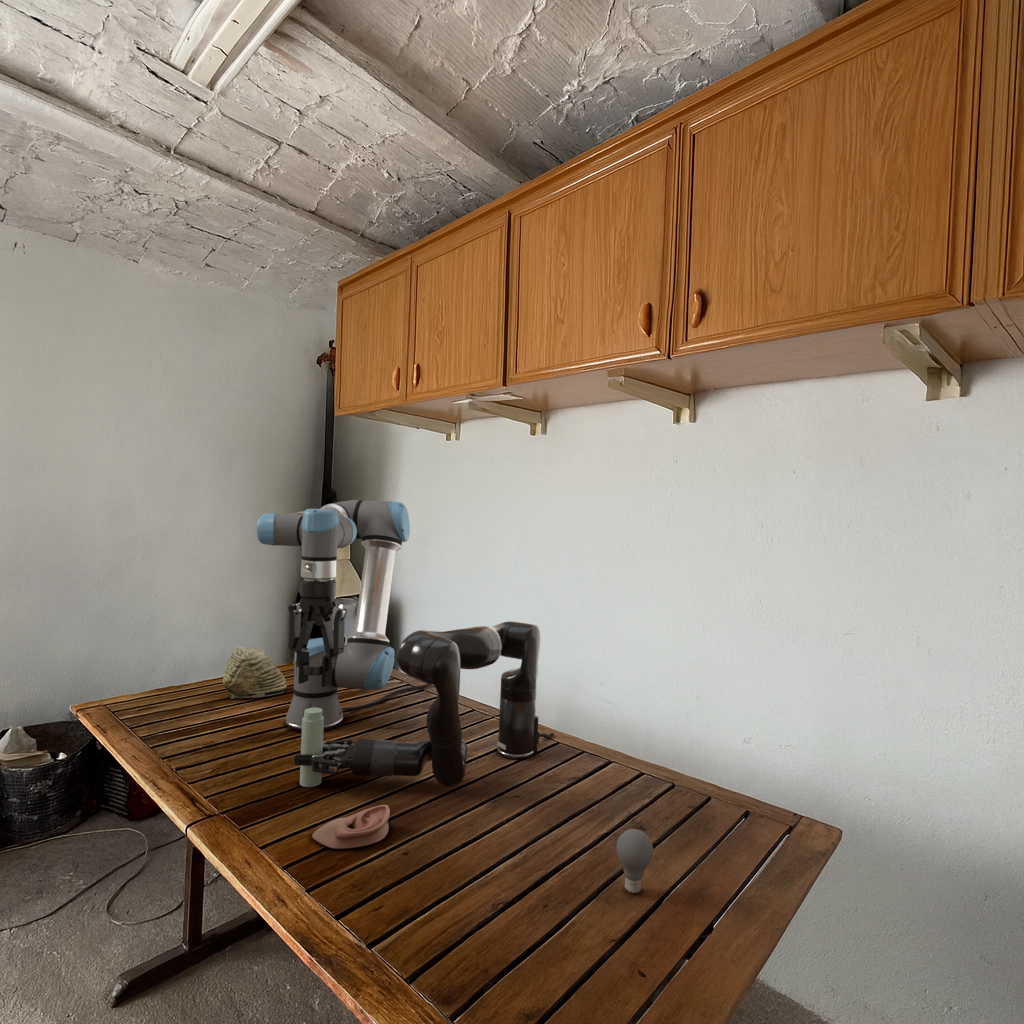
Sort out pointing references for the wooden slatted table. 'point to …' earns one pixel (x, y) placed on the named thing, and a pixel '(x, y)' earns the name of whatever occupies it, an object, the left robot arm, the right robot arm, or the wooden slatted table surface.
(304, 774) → the pale green cylinder
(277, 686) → the fossil
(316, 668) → the lid
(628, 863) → the light bulb
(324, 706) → the left robot arm
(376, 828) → the anatomical model
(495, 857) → the wooden slatted table surface
